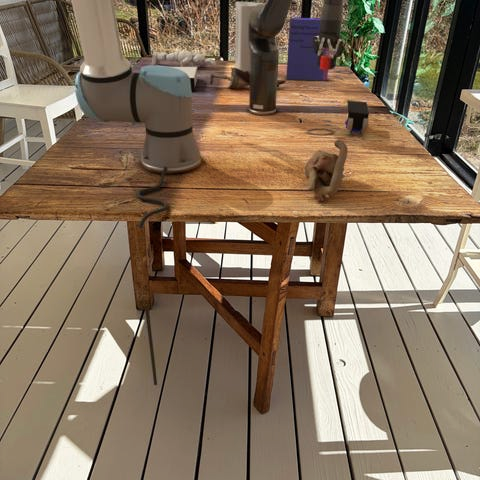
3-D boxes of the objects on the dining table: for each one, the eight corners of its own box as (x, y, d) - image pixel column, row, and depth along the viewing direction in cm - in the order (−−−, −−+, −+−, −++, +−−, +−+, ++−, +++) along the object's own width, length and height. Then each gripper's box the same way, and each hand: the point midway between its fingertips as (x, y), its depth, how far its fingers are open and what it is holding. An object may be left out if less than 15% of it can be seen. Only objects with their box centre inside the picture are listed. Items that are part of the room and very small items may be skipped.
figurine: (210, 87, 179) (288, 95, 182) (212, 65, 176) (291, 73, 180) (208, 84, 201) (278, 91, 205) (210, 64, 198) (280, 71, 202)
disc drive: (149, 91, 185) (148, 77, 183) (156, 78, 205) (156, 65, 202) (194, 91, 186) (194, 78, 183) (197, 78, 205) (197, 66, 203)
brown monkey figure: (321, 192, 118) (322, 208, 103) (296, 168, 117) (293, 181, 103) (359, 155, 113) (365, 166, 99) (333, 130, 112) (335, 137, 98)
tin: (334, 68, 181) (335, 56, 179) (329, 70, 178) (330, 58, 175) (322, 66, 183) (323, 54, 181) (317, 68, 180) (318, 56, 178)
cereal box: (326, 78, 209) (332, 18, 196) (327, 80, 205) (333, 19, 192) (286, 77, 210) (290, 17, 197) (286, 79, 206) (290, 18, 193)
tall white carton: (273, 76, 210) (276, 6, 196) (239, 77, 209) (240, 6, 194) (266, 67, 226) (268, 2, 212) (235, 67, 225) (235, 1, 210)
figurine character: (367, 142, 142) (363, 122, 154) (371, 118, 138) (367, 99, 149) (344, 141, 143) (342, 120, 155) (348, 117, 138) (346, 98, 150)
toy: (171, 74, 211) (170, 58, 208) (148, 64, 229) (146, 49, 225) (218, 68, 223) (218, 53, 219) (192, 59, 240) (192, 44, 237)
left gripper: (165, -90, 121) (170, 3, 132) (147, -84, 141) (153, -4, 152) (135, -91, 119) (143, 4, 129) (121, -85, 139) (129, -3, 150)
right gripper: (354, 19, 169) (347, 69, 178) (321, 15, 178) (317, 63, 187) (341, 20, 165) (335, 71, 174) (309, 16, 174) (305, 65, 182)
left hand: (148, 0), depth 141 cm, fingers open, 13 cm apart
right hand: (326, 67), depth 180 cm, fingers closed on tin, 4 cm apart
